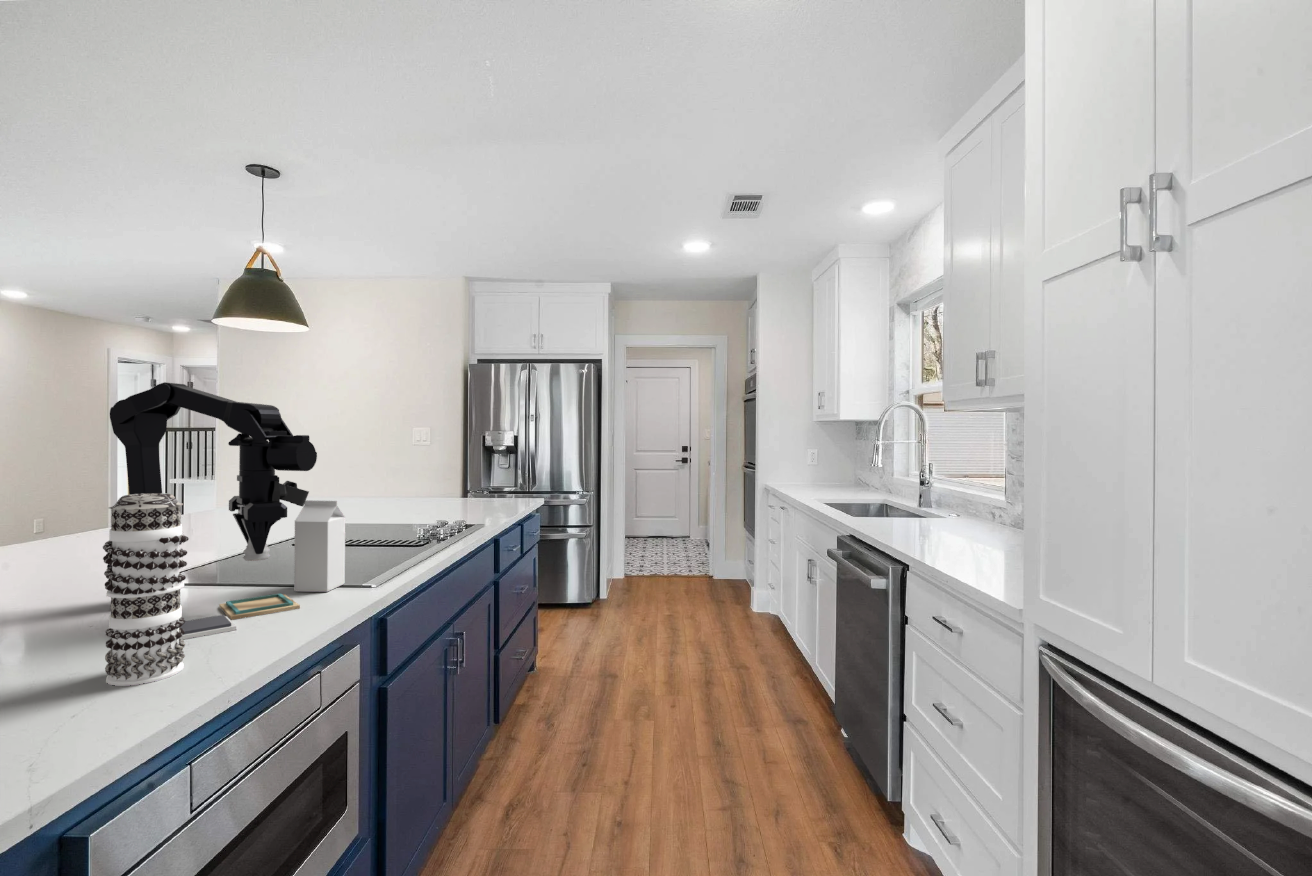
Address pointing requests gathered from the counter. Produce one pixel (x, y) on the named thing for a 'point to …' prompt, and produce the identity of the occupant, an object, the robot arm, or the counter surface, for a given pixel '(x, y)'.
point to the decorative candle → (144, 589)
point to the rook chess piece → (251, 554)
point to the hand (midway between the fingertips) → (256, 551)
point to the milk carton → (319, 547)
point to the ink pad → (207, 626)
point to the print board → (258, 606)
